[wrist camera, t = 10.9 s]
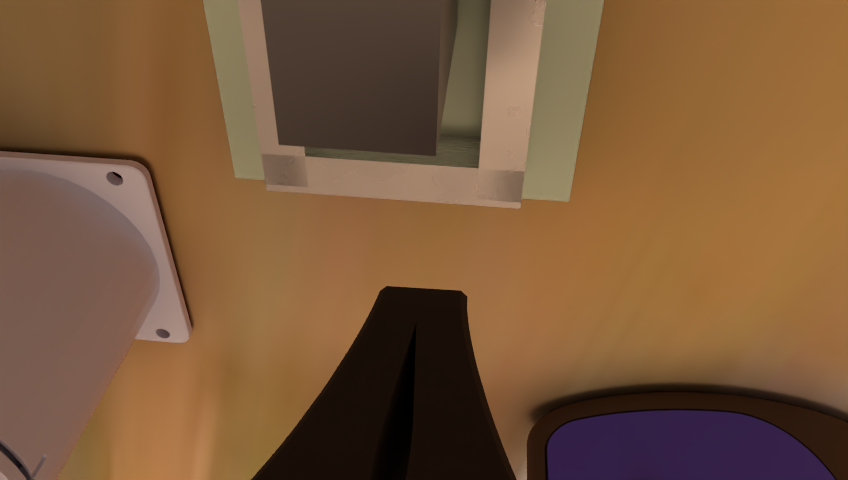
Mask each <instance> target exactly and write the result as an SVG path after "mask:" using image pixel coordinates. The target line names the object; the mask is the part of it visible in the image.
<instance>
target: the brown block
mask: <svg viewBox="0 0 848 480" xmlns="http://www.w3.org/2000/svg"><path fill="white" fill-rule="evenodd" d="M261 8H262V16H263V24H264V32H265V40H266V48H267V56H268V64H269V72H270V80H271V88H272V95H273V103H274V111H275V119H276V127H277V135H278V143H279V145H286V146H300V147H314V148H328V149H342V150H355V151H369V152H383V153H397V154H411V155H425V156H436V153H437V147H438V141H439V135H440V129H441V123H442V117H443V110H444V104H445V98H446V92H447V86H448V80H449V74H450V68H451V62H452V55H453V49H454V43H455V37H456V31H457V19H458V0H261Z"/></svg>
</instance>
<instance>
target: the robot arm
mask: <svg viewBox="0 0 848 480" xmlns="http://www.w3.org/2000/svg"><path fill="white" fill-rule="evenodd" d="M113 172H116V173H118V174H119V175H121V177H122V178H123V179H122V178H118V177H117V176H115V175H114V174H113ZM164 329H165V330H164ZM191 333H192V327H191V324H190V320H189V316H188V312H187V309H186V305H185V301H184V298H183V294H182V290H181V287H180V283H179V279H178V276H177V272H176V268H175V265H174V261H173V257H172V254H171V250H170V246H169V243H168V239H167V235H166V231H165V228H164V224H163V220H162V217H161V213H160V209H159V206H158V202H157V198H156V195H155V191H154V187H153V184H152V180H151V176H150V174H149V172H148V170H147V169H146V168H145V166H144V165H142V164H140V163H139V162H136V161H132V160H120V159H106V158H92V157H77V156H63V155H49V154H35V153H20V152H6V151H0V480H56V479H57V477H58V475H59V474H60V472H61V470H62V468H63V466H64V465H65V463H66V461H67V459H68V457H69V456H70V454H71V452H72V450H73V448H74V447H75V445H76V443H77V441H78V439H79V438H80V436H81V434H82V432H83V431H84V429H85V427H86V425H87V423H88V422H89V420H90V418H91V416H92V414H93V413H94V411H95V409H96V407H97V405H98V404H99V402H100V400H101V398H102V396H103V395H104V393H105V391H106V389H107V388H108V386H109V384H110V382H111V380H112V379H113V377H114V375H115V373H116V371H117V370H118V368H119V366H120V364H121V362H122V361H123V359H124V357H125V355H126V353H127V352H128V350H129V348H130V346H131V345H132V343H133V341H134V339H139V340H151V341H162V342H173V343H184V342H186V341H188V339H189V338H190V336H191ZM251 480H516V477H515V475H514V473H513V470H512V468H511V465H510V463H509V461H508V458H507V456H506V453H505V451H504V448H503V445H502V443H501V440H500V437H499V435H498V432H497V429H496V426H495V424H494V421H493V418H492V415H491V412H490V409H489V406H488V403H487V400H486V396H485V393H484V389H483V386H482V383H481V379H480V376H479V372H478V369H477V365H476V361H475V357H474V352H473V347H472V342H471V337H470V331H469V324H468V315H467V296H466V295H465V294H464V293H463V292H462V291H456V290H440V289H424V288H408V287H391V286H386V287H385V288H384V289H382V290H381V291H380V292H379V295H378V297H377V299H376V301H375V304H374V306H373V308H372V310H371V312H370V314H369V316H368V317H367V319H366V321H365V323H364V325H363V327H362V328H361V330H360V332H359V334H358V335H357V337H356V339H355V340H354V342H353V344H352V346H351V347H350V349H349V350H348V352H347V354H346V355H345V357H344V358H343V360H342V361H341V363H340V364H339V366H338V367H337V369H336V371H335V372H334V374H333V375H332V377H331V378H330V380H329V381H328V383H327V384H326V386H325V387H324V389H323V390H322V392H321V393H320V394H319V396H318V397H317V398H316V400H315V401H314V402H313V404H312V405H311V406H310V408H309V409H308V411H307V412H306V413H305V415H304V416H303V417H302V419H301V420H300V421H299V423H298V424H297V425H296V427H295V428H294V429H293V431H292V432H291V433H290V434H289V436H288V437H287V438H286V439H285V441H284V442H283V443H282V444H281V446H280V447H279V448H278V449H277V450H276V452H275V453H274V454H273V455H272V456H271V457H270V459H269V460H268V461H267V462H266V463H265V464H264V466H263V467H262V468H261V469H260V470H259V471H258V472H257V474H256V475H255V476H254V477H253V478H252V479H251Z"/></svg>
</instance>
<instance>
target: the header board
mask: <svg viewBox="0 0 848 480" xmlns="http://www.w3.org/2000/svg"><path fill="white" fill-rule="evenodd" d="M203 4H204V9H205V14H206V20H207V25H208V31H209V36H210V42H211V47H212V53H213V58H214V64H215V69H216V75H217V80H218V86H219V91H220V97H221V102H222V108H223V113H224V119H225V124H226V130H227V135H228V141H229V146H230V152H231V157H232V163H233V168H234V174H235V178H242V179H256V180H265V185H266V190H268V191H282V192H296V193H310V194H324V195H338V196H352V197H366V198H379V199H393V200H407V201H421V202H435V203H449V204H463V205H476V206H490V207H504V208H518V209H520V207H521V199H522V198H524V199H538V200H552V201H566V202H569V198H570V192H571V187H572V181H573V175H574V170H575V164H576V158H577V153H578V147H579V141H580V136H581V130H582V124H583V118H584V113H585V107H586V101H587V96H588V90H589V84H590V79H591V73H592V67H593V62H594V56H595V50H596V44H597V39H598V33H599V27H600V22H601V16H602V10H603V5H604V0H458V19H457V31H456V37H455V43H454V49H453V55H452V62H451V68H450V74H449V80H448V86H447V92H446V98H445V104H444V110H443V117H442V123H441V129H440V135H439V141H438V147H437V153H436V156H425V155H411V154H397V153H383V152H369V151H355V150H342V149H328V148H314V147H300V146H286V145H279V143H278V135H277V127H276V119H275V111H274V103H273V95H272V88H271V80H270V72H269V64H268V56H267V48H266V40H265V32H264V24H263V16H262V8H261V0H203Z"/></svg>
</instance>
